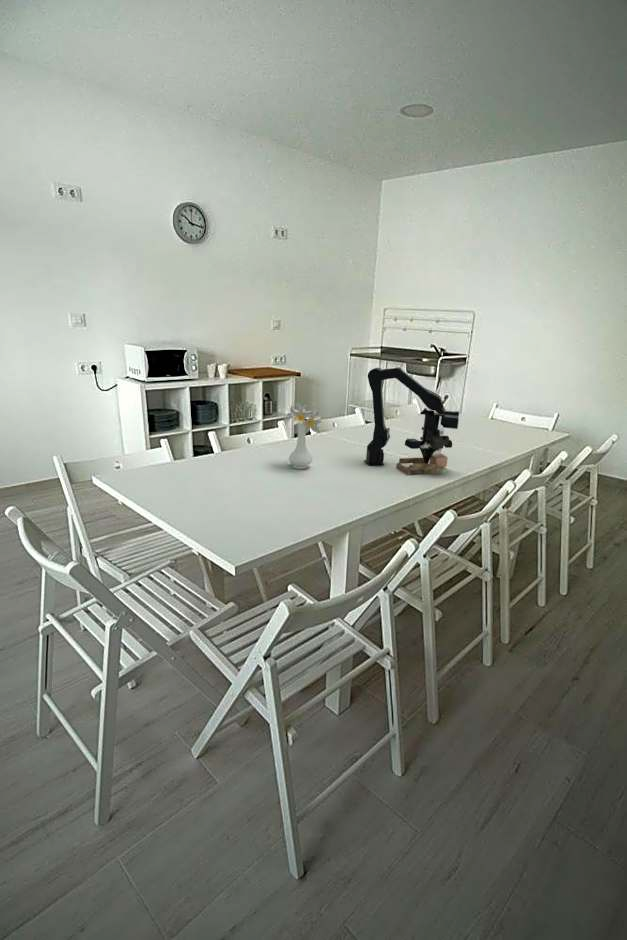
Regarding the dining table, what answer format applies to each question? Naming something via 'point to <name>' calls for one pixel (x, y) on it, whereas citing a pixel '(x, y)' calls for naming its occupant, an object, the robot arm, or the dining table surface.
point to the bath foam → (440, 434)
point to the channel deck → (419, 467)
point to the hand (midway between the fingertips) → (426, 463)
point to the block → (439, 460)
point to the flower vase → (302, 434)
